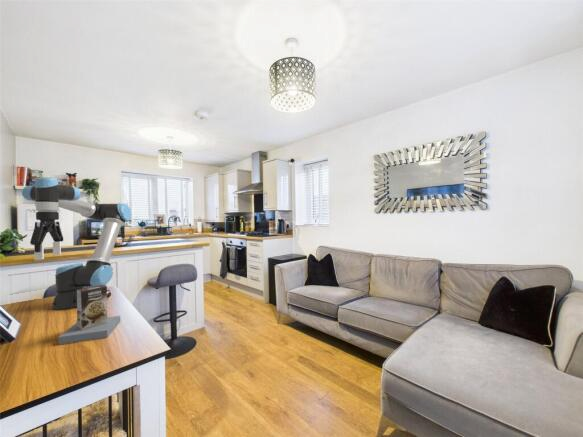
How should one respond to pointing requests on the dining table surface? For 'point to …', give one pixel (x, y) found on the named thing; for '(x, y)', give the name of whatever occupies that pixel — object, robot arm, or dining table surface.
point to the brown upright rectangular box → (91, 306)
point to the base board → (89, 331)
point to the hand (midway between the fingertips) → (48, 257)
